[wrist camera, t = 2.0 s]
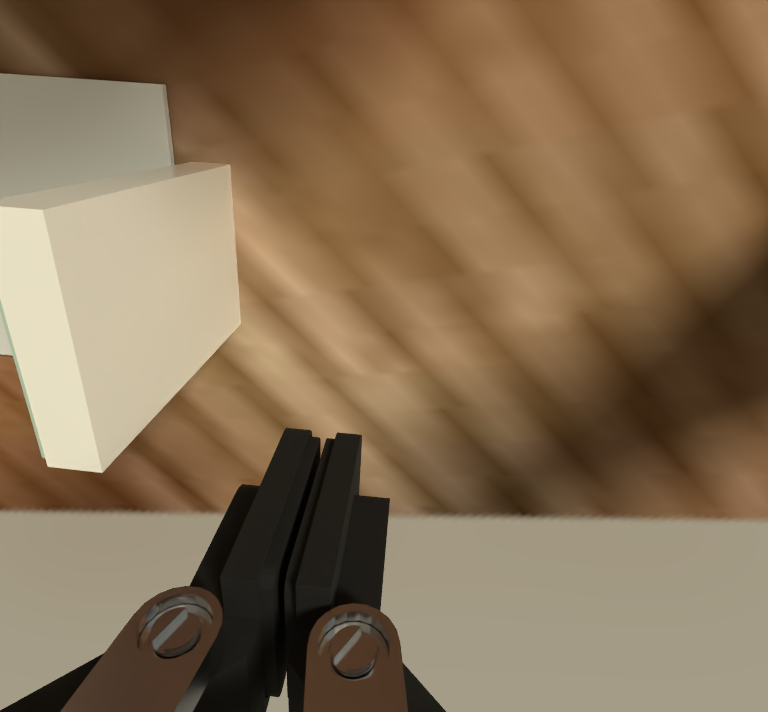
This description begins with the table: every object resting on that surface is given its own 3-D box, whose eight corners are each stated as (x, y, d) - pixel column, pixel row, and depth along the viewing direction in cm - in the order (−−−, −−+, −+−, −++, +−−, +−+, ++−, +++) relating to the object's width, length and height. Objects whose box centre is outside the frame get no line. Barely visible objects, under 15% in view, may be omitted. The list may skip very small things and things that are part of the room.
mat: (165, 84, 25) (161, 84, 25) (197, 371, 32) (194, 374, 32) (-101, 66, 26) (-109, 65, 25) (-13, 349, 33) (-18, 352, 32)
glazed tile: (230, 164, 26) (42, 209, 14) (240, 324, 30) (102, 472, 18) (187, 161, 26) (-38, 203, 14) (203, 320, 30) (39, 465, 18)
